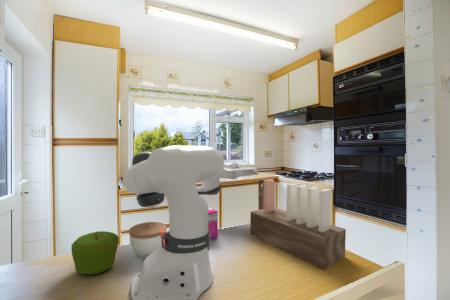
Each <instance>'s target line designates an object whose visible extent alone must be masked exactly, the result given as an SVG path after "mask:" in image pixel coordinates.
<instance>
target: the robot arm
mask: <svg viewBox="0 0 450 300" xmlns="http://www.w3.org/2000/svg"><path fill="white" fill-rule="evenodd" d="M131 161H132V162H131V167H129V168H128V169H127V170H126V171H125V172H124V174H123V177H122V184H123V187H124V188H125V190H126V191H128V192H130V193H132V194H135V195H136V201H137V204H138V205H139V206H140V207H141V208H145V209H146V208H147V209H151V208H152V209H153V208H155V207H157V206H160V205H161V204H163V203H164V201H165V200H166V202H167V206H168V222H169V223H168V227H169V228H168V231H167V229H166V230H162V231H161V232H160V237H161V238H162V246H160V247H159V248H158V249H157V250H155V251H154V252H153V253H152V254H150V255H149V256H148V257H147V258H144V259H145V260H144V261H143V263H142V266H141V269H140V271H139V272H138V273H137V274H136V275H135V276H134V277H133V280H132V282H131V288H130V298H131V300H199V297H200V296H201V294H202V293H203V292H204V291H207V290H208V288H209V287H210V286H211V285H212V284H213V282H214V276H213V271H212V269H211V261H210V254H209V251H210V247H211V239H210V234H209V230H208V208H209V204H208V203H207V201H206V200H205V199H204V198H202V197H200V195H201V196H202V195H207V196H215V195H218V194H219V192H220V191H221V190H222V189H221V179H222V180H223V179H228V180H237V179H238V178H239V177H249V176H258V175H259V171H258V168H257V167H248V166H245V167H241V166H240V165H239V164H238V163H237V162H230V161H228V162H227V161H225V159H224V155H223V153H222V152H221V151H220V150H218V149H217V148H214V147H211V146H208V145H187V144H186V145H182V144H181V145H180V144H179V145H178V144H177V145H168V146H167V145H166V146H162V147H159V148H156V149H154V150H152V151H142V152H139V153H137V154H135V155H134V156H133V157H132V159H131ZM199 183H201V185H200V186H199V185H198V186H197V184H199ZM165 198H166V199H165Z"/></svg>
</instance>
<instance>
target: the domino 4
mask: <svg viewBox="0 0 450 300" xmlns="http://www.w3.org/2000/svg"><path fill="white" fill-rule="evenodd" d="M319 190H320V187H318V186H313V187H308V188H307V227H308V228H313V227H315V226H318V222H319Z"/></svg>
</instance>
